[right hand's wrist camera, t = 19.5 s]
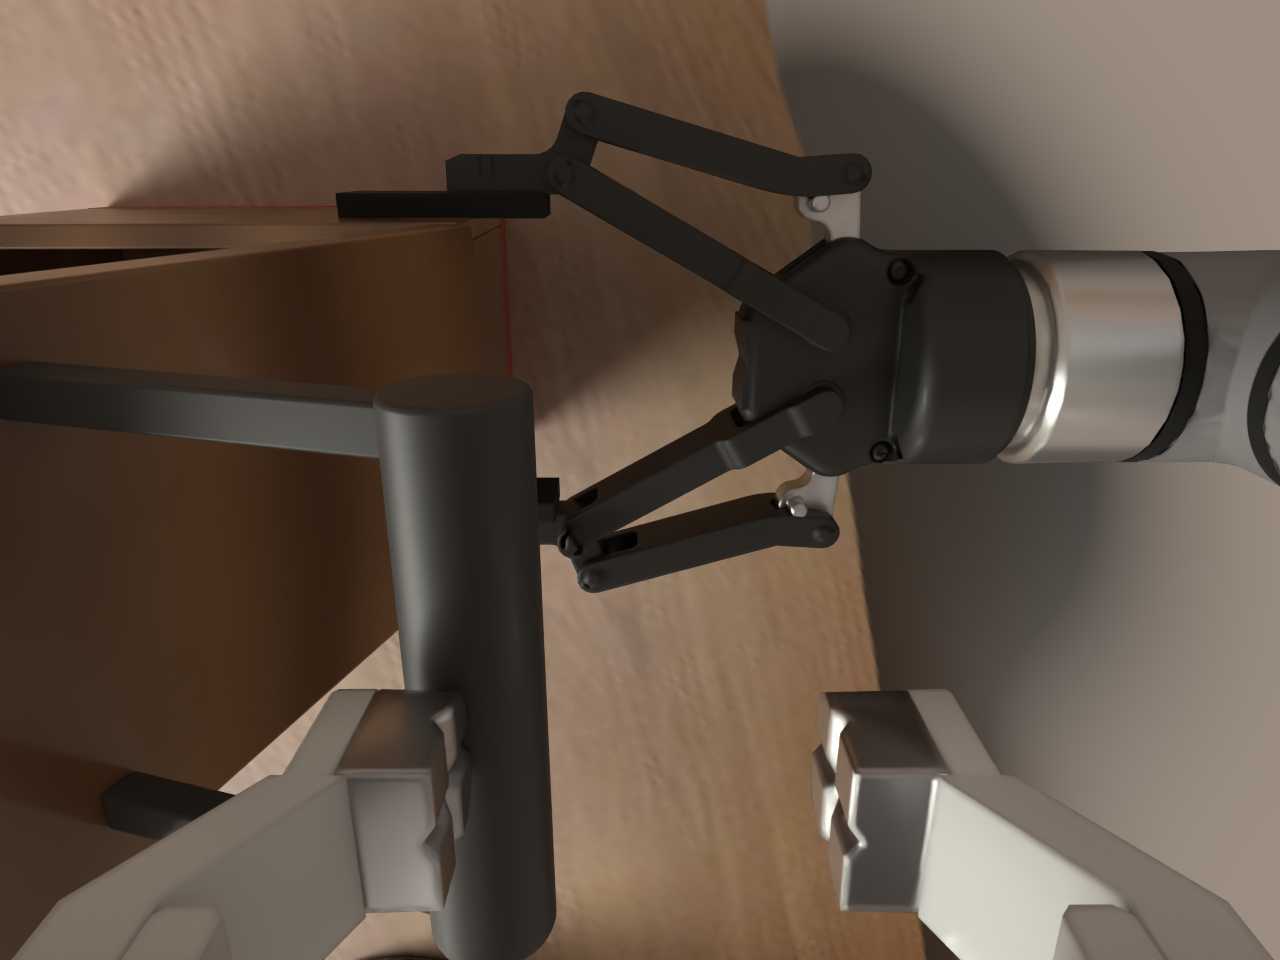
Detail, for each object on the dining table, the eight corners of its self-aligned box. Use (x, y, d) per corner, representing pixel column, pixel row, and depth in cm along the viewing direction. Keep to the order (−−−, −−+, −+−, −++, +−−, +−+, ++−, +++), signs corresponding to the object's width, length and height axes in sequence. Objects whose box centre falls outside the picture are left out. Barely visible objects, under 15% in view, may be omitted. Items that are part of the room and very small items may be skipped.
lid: (-67, 972, 13) (472, 1162, 10) (-320, 313, 9) (391, 362, 7) (459, 541, 28) (734, 578, 25) (434, 223, 24) (748, 229, 22)
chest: (153, 440, 38) (-19, 542, 28) (105, 206, 34) (-111, 224, 24) (515, 436, 38) (479, 535, 28) (503, 205, 35) (457, 222, 25)
